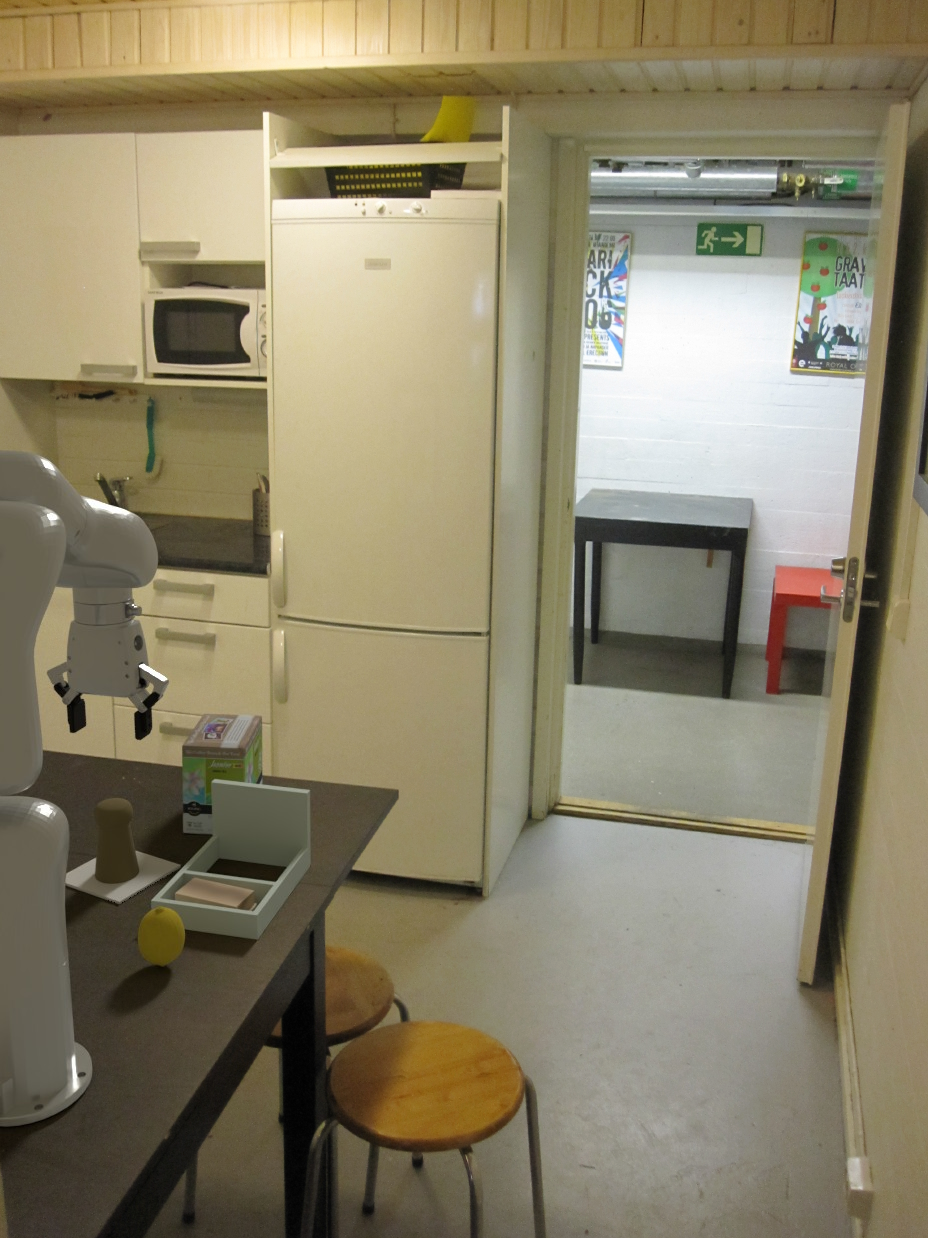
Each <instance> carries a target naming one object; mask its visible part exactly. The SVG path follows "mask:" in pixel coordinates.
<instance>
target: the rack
mask: <svg viewBox="0 0 928 1238" xmlns="http://www.w3.org/2000/svg"><path fill="white" fill-rule="evenodd" d="M211 793H212V823H213V834H212V836H211V837H210V838H209V839H208V840H207V842H205V844H204V845H202V847H201V848H199V850H198V851H197V852H196V853H195V854H194V855H193V856H192V857H191V858H190V860H188V861H187V862H186V863H185V864H184V866H183V867H181V868H180V869H179V871H177V873H176V874H175V875H174V876H173V877H172V878H171V879H170V880H169V881H168V882H167V883H166V884H165V885H164V887H163V888H162V889H160V891H159V892H158V893H156V895H155V896H154V897H152V899H151V900H150V906H151V910H153V909H155V908H157V907H159V906H162V907H166V908H170V909H172V910H174V911H175V912H176V913H177V914H178V915H179V916H180V918H181V920H182V923H183V925H184V930H187V931H188V930H189V931H193V932H195V931H196V932H201V933H209V934H215V935H222V936H231V937H237V938H242V939H243V938H244V939H250V940H259V938H260V937H261V936H262V934H263V933H264V932H265V930H266V929H267V928H268V926H269V925H270V923H271V922H272V920H273V919H274V918H275V917H276V915H277V914H278V912H279V910H280V909H281V908H282V907H283V905H284V903H285V902H286V901H287V900H288V898H289V897H290V895H291V894H292V892H293V891H294V890H295V888H296V887H297V885H299V883H300V882H301V880H302V878H304V876H305V875H306V873H307V872H308V871H309V870H310V867H311V865H312V864H311V863H312V862H311V790H310V789H305V788H295V787H288V786H287V787H286V786H279V785H277V786H276V785H271V784H270V785H269V784H263V783H262V784H253V783H245V782H236V781H227V780H219V779H214V780H213V781H212V782H211ZM219 859H220V860H221V859H222V860H229V861H230V860H231V861H238V862H245V863H254V864H260V865H261V864H262V865H267V866H268V865H269V866H276V867H285V869H284V870H283V872H282V873H281V874H280V876H279V877H278V879H277V880H276V881H271V880H263V879H255V878H248V877H239V876H232V875H224V874H217V873H211V872H210V873H209V872H208V871H209V870H210V869H211V867H213V866H214V864H215V863H216V861H218V860H219ZM193 878H199V879H204V880H208V881H213V882H218V883H222V884H227V885H231V886H236V887H241V888H245V889H250V890H254V893H255V903H257V908H256V909H255V910H254V911H247V910H240V909H233V908H226V907H219V906H211V905H204V904H197V903H190V902H183V901H175V893H176V892H177V891H178V890H180V889H181V888H182V887H183V886H184V885H186V884H187V883H188V882H189V881H191V880H192V879H193ZM151 910H150V911H151Z"/></svg>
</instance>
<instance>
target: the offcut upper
mask: <svg viewBox="0 0 928 1238" xmlns="http://www.w3.org/2000/svg"><path fill="white" fill-rule="evenodd" d="M175 901H183V902H190V903H197V904H204V905H211V906H219V907H226V908H233V909H240V910H247V911H248V910H249V909H250V908H251V907H252V906H253V905H254V904H255V893H254V890H250V889H245V888H241V887H236V886H231V885H227V884H222V883H218V882H213V881H208V880H204V879H199V878H193V879H192V880H191V881H189V882H188V883H187V884H186V885H184V886H183V887H182V888H181V889H180V890H178V891H177V892H176V893H175Z"/></svg>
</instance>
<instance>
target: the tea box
mask: <svg viewBox="0 0 928 1238" xmlns="http://www.w3.org/2000/svg"><path fill="white" fill-rule="evenodd" d="M181 757H182V758H181V760H182V761H181V764H182V765H181V767H182V827H183V828H182V832H183V834H196V835H213V823H212V793H211V782H212V781H213V780H214V779H219V780H227V781H236V782H245V783H253V784H262V785H263V716H262V715H257V714H256V715H253V714H252V715H251V714H249V715H248V714H225V713H224V714H223V713H222V714H221V713H203V715H202V716H201V718H200V719H199V720H198V722H197V724H195V726H194V728H193V729H192V731H191V732H190V734H188V736H187V738H186V739H185V741H184V742H183V744H182V746H181Z"/></svg>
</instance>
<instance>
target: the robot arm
mask: <svg viewBox="0 0 928 1238" xmlns="http://www.w3.org/2000/svg"><path fill="white" fill-rule="evenodd" d="M158 563H159V553H158V548H157V544H156V541H155V538H154V535H153V534H152V532H151V530H150V529H149V527H148V526H147V524H146V523H145V521H144V519H142V518H141V517H140V516H139V515H137V514H135V513H134V512H131V511H129V510H127V509H124V508H122V507H118V506H115V505H111V504H108V503H106V502H103V501H101V500H98V499H95V498H92V497H89V496H84V495H81V494H79V492H78V491H77V490H76V488H74V486H73V485H72V484H71V483H70V481H68V479H67V478H66V477H65V476H64V474H63V473H62V472H61V471H60V470H59V468H58V466H57V465H55V464H54V463H52V462H51V460H49V459H47V458H45V457H44V456H41V455H39V454H36V453H33V452H27V451H22V450H21V451H20V450H4V449H3V450H0V1127H15V1126H16V1127H17V1126H18V1127H19V1126H23V1125H28V1124H29V1125H30V1124H33V1123H36V1122H39V1121H42V1120H45V1119H47V1118H50V1117H51V1116H54V1115H56V1114H58V1113H60V1112H61V1111H63V1110H65V1109H67V1108H68V1107H69V1106H71V1105H72V1104H73V1103H74V1102H76V1101H77V1100H78V1099H79V1098H80V1097H81V1096H82V1095H83V1094H84V1093H85V1092H86V1091H87V1088H88V1086H89V1085H90V1083H91V1080H92V1077H93V1063H92V1062H93V1061H92V1057H91V1055H90V1053H89V1051H88V1050H87V1049H86V1048H85V1047H84V1046H83V1045H81V1044H80V1043H78V1042H76V1041H75V1031H74V1018H73V1005H72V1004H73V1003H72V990H71V988H72V987H71V975H70V963H69V961H70V960H69V950H68V949H69V948H68V938H67V936H68V935H67V923H66V922H67V920H66V885H65V882H66V873H67V870H68V869H67V868H68V860H69V851H70V836H71V835H70V825H69V821H68V818H67V816H66V814H65V813H64V811H63V810H62V808H60V807H59V806H58V805H56V804H55V803H53V802H51V801H49V800H45V799H42V798H38V797H33V796H32V797H31V796H22V795H21V796H20V795H14V794H19V793H22V792H23V791H26V790H28V789H30V787H32V786H33V784H36V783H35V782H37V780H38V779H39V776H40V775H41V772H42V768H43V761H44V759H43V758H44V751H43V750H44V748H43V746H44V745H43V735H42V734H43V733H42V727H41V726H42V725H41V714H40V705H39V697H38V687H37V679H36V678H37V677H36V676H37V675H36V667H35V648H36V643H37V636H38V633H39V631H40V627H41V625H42V624H41V623H42V621H43V619H44V617H45V615H46V611H47V609H48V607H49V604H50V602H51V599H52V596H53V594H54V592H55V589H56V587H57V588H63V589H64V588H66V589H71V590H72V603H73V607H72V608H73V617H74V618H73V620H71V621H70V625H69V631H68V636H67V644H66V646H67V647H66V661H65V662H62V663H61V664H58V665H56V666H54V667H52V668H50V669H48V670H47V671H46V674H47V677H48V679H49V680H50V681H49V682H50V683H51V684H52V686H53V690H54V691H55V692H56V693H57V695H58V696H59V697H60V698H61V701H62V703H63V705H65V706H66V714H67V716H66V717H67V724H68V725H69V733H70V734H76V733H78V732H79V731H80V730H82V729H84V728H86V727H87V713H86V711H87V710H86V701H85V699H84V698H82V696H83V695H91V696H101V697H103V696H104V697H111V698H112V697H114V698H125V699H126V698H128V699H129V700H130V702H131V703H132V704H133V706H134V707H135V708H136V709H137V711H135V712H134V714H133V721H134V738H135V739H136V740H137V741H142V740H143V739H145V738H146V737H147V736H148V735H150V734H151V731H153V710H152V709H153V707H154V706H155V705H156V704H157V703H158V702H159V701H160V700H161V699H162V698H163V697H164V693H165V691H166V690H167V687H168V685H169V683H170V681H169V679H168V678H167V677H165V676H164V675H162V674H161V673H159V672H157V671H155V670H154V669H153V668H151V667H150V664H149V657H148V656H149V655H148V651H147V650H148V648H147V645H146V644H147V643H146V638H145V634H144V631H143V628H142V624H141V621H140V620H138V619H136V618H135V617H141V615H142V614H143V609H142V607H141V605H136V604H135V599H134V598H133V589H139V588H143V587H146V586H147V585H148V584H150V583H151V582H152V581H153V580H154V578H155V575H156V573H157V570H158ZM64 673H66V679H67V681H66V680H65V678H64ZM150 684H151V685H152V686H153V689H152V692H151V693H149V691H148V690H147V688H148V687H149V686H150Z"/></svg>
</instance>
